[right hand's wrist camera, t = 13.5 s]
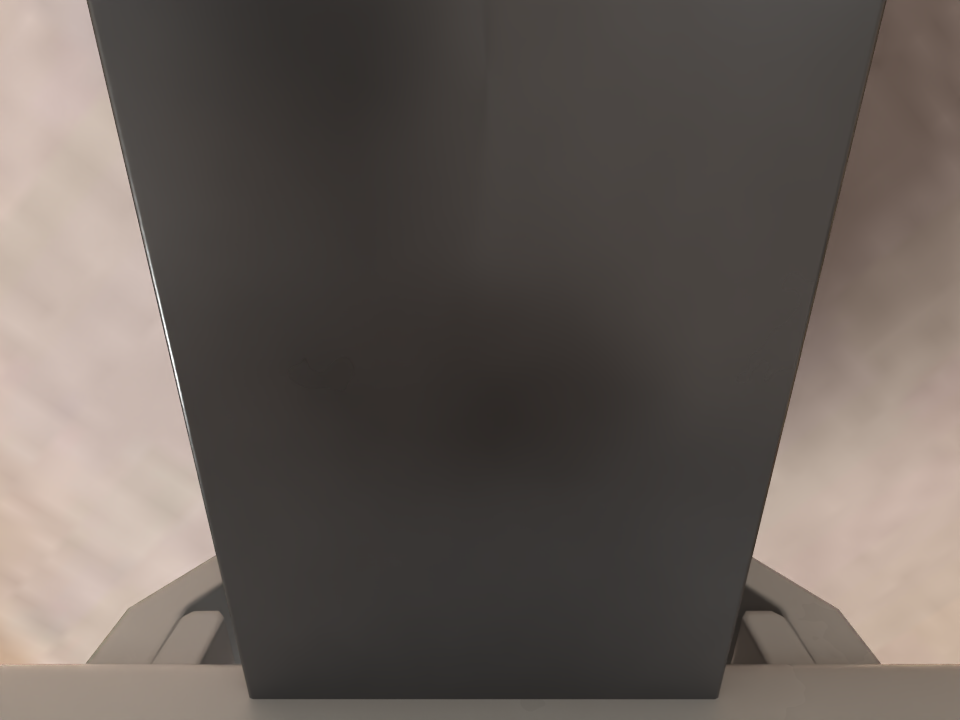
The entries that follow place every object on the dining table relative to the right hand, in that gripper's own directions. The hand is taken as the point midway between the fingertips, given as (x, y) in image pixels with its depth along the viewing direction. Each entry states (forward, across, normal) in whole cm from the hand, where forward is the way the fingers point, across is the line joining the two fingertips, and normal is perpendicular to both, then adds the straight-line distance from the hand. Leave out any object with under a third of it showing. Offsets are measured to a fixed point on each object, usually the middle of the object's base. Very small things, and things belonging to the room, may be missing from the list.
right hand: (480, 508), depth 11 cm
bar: (+3, 0, -7) cm, 8 cm away
